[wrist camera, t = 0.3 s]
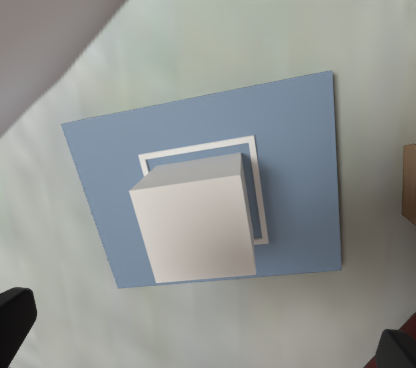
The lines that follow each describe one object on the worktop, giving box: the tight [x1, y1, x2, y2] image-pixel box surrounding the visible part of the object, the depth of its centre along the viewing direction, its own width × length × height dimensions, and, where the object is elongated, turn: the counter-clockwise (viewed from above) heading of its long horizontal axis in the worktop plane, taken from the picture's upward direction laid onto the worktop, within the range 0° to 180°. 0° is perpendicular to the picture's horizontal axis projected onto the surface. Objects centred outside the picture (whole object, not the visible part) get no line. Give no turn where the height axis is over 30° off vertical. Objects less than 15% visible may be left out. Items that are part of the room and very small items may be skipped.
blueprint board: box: [61, 70, 342, 288], centre depth 20 cm, size 14×18×1 cm
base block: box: [129, 152, 256, 283], centre depth 18 cm, size 6×6×5 cm
